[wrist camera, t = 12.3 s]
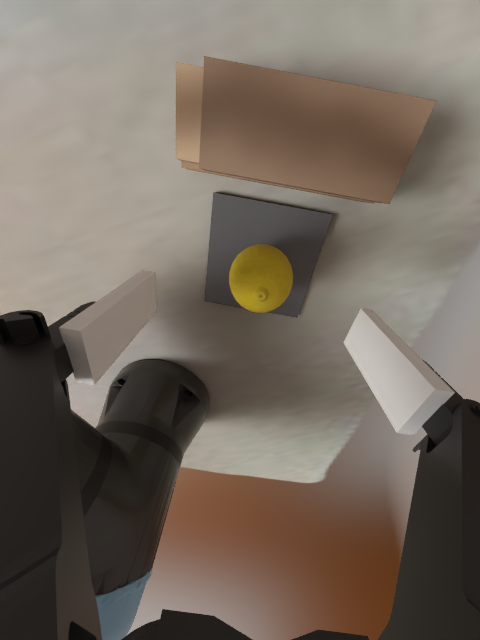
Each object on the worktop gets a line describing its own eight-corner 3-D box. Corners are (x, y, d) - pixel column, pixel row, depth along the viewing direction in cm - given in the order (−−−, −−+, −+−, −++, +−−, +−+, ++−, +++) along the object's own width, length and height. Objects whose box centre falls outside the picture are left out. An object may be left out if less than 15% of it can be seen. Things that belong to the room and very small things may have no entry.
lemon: (288, 234, 21) (302, 256, 14) (286, 288, 24) (297, 328, 17) (231, 238, 21) (218, 260, 15) (235, 290, 24) (226, 329, 17)
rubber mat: (296, 314, 26) (297, 317, 25) (205, 298, 26) (204, 300, 25) (330, 214, 20) (332, 214, 20) (214, 192, 20) (213, 192, 20)
